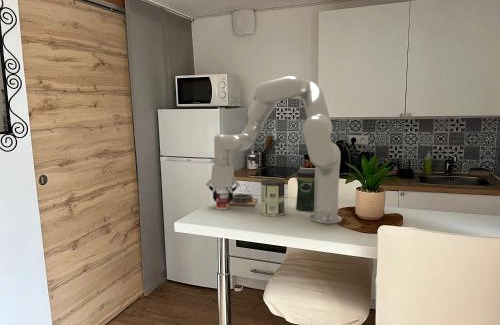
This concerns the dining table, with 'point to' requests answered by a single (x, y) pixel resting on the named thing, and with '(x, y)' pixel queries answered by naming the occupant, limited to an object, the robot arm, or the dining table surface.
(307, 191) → the coffee jar
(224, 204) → the pill bottle
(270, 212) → the coffee can
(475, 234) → the dining table surface
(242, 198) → the dish on wooden board
